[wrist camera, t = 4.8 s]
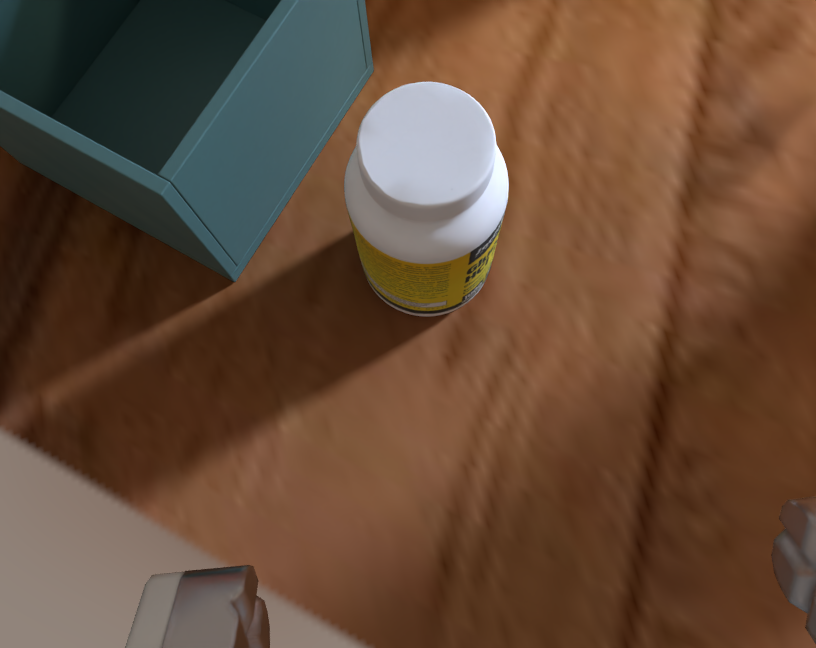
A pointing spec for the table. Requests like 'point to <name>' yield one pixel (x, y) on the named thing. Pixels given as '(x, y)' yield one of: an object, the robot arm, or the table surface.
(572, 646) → the table surface
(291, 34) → the trash bin
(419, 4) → the table surface
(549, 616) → the table surface
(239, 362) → the table surface
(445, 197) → the pill bottle
